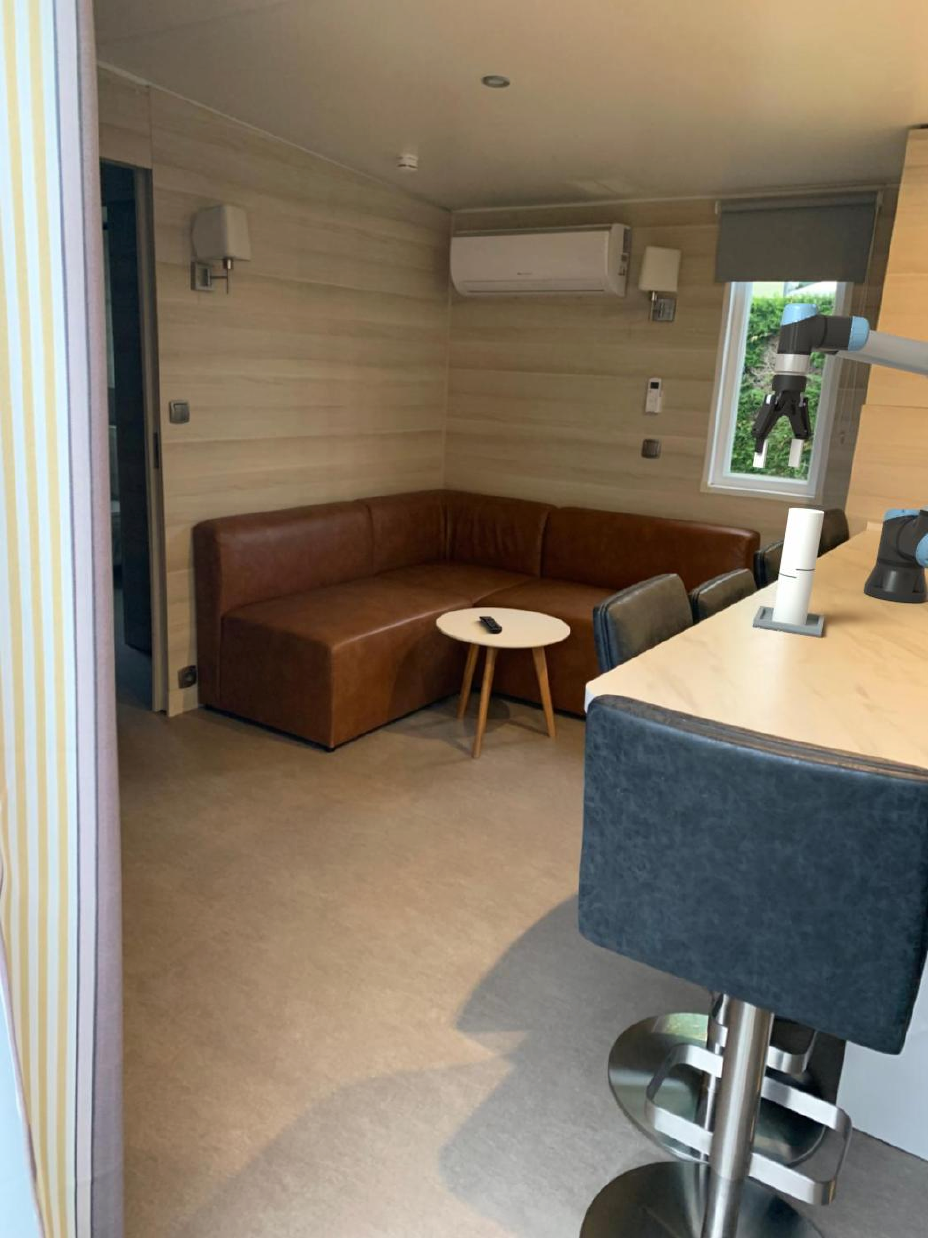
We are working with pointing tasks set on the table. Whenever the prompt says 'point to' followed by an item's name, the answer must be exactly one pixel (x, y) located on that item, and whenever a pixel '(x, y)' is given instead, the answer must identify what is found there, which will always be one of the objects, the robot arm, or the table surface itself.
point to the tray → (811, 627)
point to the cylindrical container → (797, 565)
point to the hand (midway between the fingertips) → (776, 467)
